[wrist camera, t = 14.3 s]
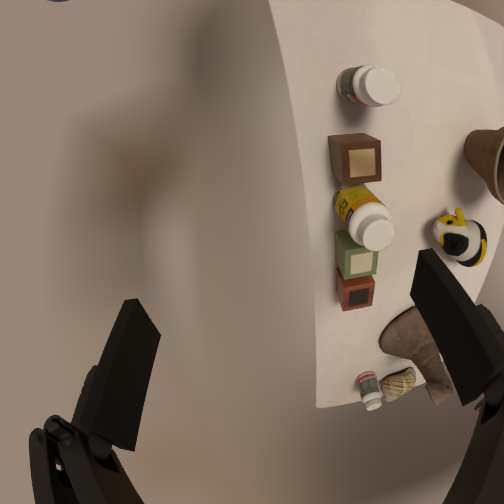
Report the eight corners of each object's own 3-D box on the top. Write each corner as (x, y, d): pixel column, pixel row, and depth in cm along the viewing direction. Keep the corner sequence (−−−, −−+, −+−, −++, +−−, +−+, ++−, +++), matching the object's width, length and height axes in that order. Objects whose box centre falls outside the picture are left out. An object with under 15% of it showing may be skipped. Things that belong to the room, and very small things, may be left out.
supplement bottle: (330, 183, 34) (355, 216, 26) (368, 177, 34) (402, 209, 25) (333, 219, 37) (355, 261, 29) (369, 213, 37) (399, 253, 28)
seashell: (421, 367, 61) (419, 400, 56) (395, 371, 69) (392, 402, 64) (405, 363, 58) (402, 400, 53) (377, 368, 65) (373, 402, 60)
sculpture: (400, 300, 46) (441, 385, 30) (454, 301, 47) (494, 369, 31) (367, 353, 55) (389, 428, 39) (420, 349, 57) (446, 412, 40)
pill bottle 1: (334, 100, 28) (359, 104, 21) (336, 65, 26) (362, 59, 19) (369, 106, 28) (401, 113, 21) (371, 72, 26) (404, 70, 19)
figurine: (437, 191, 34) (466, 215, 27) (481, 223, 37) (505, 246, 30) (413, 234, 38) (437, 263, 32) (460, 258, 41) (481, 283, 34)
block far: (335, 231, 38) (344, 251, 34) (366, 227, 38) (379, 245, 33) (335, 259, 41) (344, 280, 37) (365, 254, 40) (376, 274, 36)
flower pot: (442, 154, 31) (485, 178, 22) (470, 100, 25) (516, 113, 17) (476, 192, 34) (512, 220, 25) (502, 144, 28) (540, 163, 19)
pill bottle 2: (352, 378, 62) (360, 410, 54) (369, 368, 60) (378, 400, 51) (362, 383, 64) (369, 412, 56) (378, 373, 62) (387, 404, 53)
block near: (328, 135, 31) (340, 143, 26) (364, 133, 30) (381, 140, 26) (331, 172, 33) (343, 185, 29) (366, 168, 33) (382, 181, 29)
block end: (335, 267, 42) (344, 288, 38) (364, 262, 41) (375, 282, 37) (335, 290, 45) (342, 312, 40) (362, 285, 44) (372, 306, 40)
